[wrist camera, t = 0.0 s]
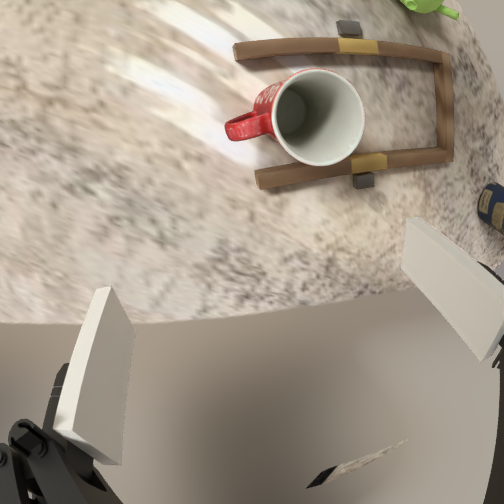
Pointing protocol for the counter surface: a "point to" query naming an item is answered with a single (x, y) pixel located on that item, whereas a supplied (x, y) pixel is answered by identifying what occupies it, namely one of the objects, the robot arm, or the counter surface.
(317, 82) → the mug
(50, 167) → the counter surface
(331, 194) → the counter surface
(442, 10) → the teapot
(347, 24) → the beam slot
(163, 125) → the counter surface
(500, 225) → the canister
